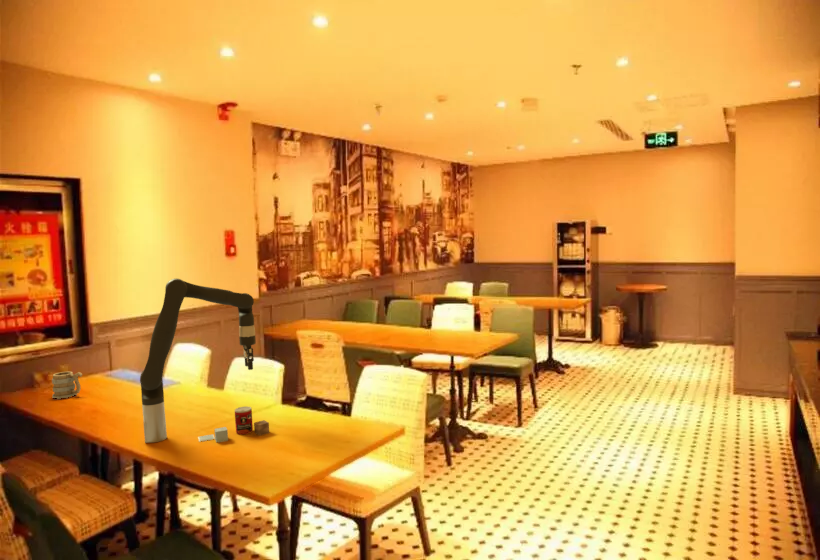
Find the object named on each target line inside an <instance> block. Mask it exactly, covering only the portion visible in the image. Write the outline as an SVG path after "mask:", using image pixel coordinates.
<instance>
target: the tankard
mask: <svg viewBox="0 0 820 560" xmlns="http://www.w3.org/2000/svg"><path fill="white" fill-rule="evenodd" d="M79 377H80V378H82V377H83V373H82V372H80V371H78V372H76V373H75V374H74V373H73V371H61V372H56V373H53V374H52V379H51V384H52V385H53V386H52V392H53V394H52V396H51V397H52V398H57V399H56V400H62V399H61V398H66V399H69V398H68V397H71V396H74V395H76V396H77V395H78V394H80V391H81V384H80V381H79ZM74 397H75V396H74ZM71 398H72V397H71Z"/></svg>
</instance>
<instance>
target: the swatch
mask: <svg viewBox="0 0 820 560" xmlns="http://www.w3.org/2000/svg"><path fill="white" fill-rule="evenodd" d="M197 439H198V442H199V443H201V441H202V442H207V440H208V441H213V439H214V440H215V434H206V435H201V436H197Z"/></svg>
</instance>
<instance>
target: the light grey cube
mask: <svg viewBox="0 0 820 560" xmlns="http://www.w3.org/2000/svg"><path fill="white" fill-rule="evenodd" d="M228 433H229V432H228V428H227V427H226V426H223V427H218V428H214V437H215V439H214V441H215V442H216V443H217V442H218V443H224V442H228V441H229V434H228Z"/></svg>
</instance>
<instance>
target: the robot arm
mask: <svg viewBox="0 0 820 560" xmlns="http://www.w3.org/2000/svg"><path fill="white" fill-rule="evenodd" d="M164 290H165V291H164V292H165V293H164V297H163V305H162V307H161V310H160V312H159V314H158V317H157V319H156V322H155V325H154V327H153V331H152V334H151V338H150V343H149V344H150V345H149V351H148V352H149V353H148V357H147V361H146V363H145V367H144V369H143V370H142V372H141V373H140V377H139V383H140V391H141V404H142V405H141V407H142V416H143V423H142V424H143V433H144V443H145V444H146V443H157V442H162V441H164V440H166V439H167V438H168V435H167V434H168V433H167V421H166V411H165V410H166V409H165V395H164V394H165V393H164V383H163V382H164V381H163V376H164V368H165V365H166V364H165V363H166V360H167V358H168V355H169V353H170V350H171V347H172V345H173V343H174V342H173V341H174V338H175V336H176V335H175V334H176V330H177V325H178V321H179V315H180V310H181V307H182V304H183V301H184V299H185V298H186V299H188V298H190V299H191V298H192V299H196V300H201V301H205V302H208V303H213V304H217V305H218V304H219V305H223V306H224V305H225V306H232V307H236V308H237V311H238V336H239V337H238V338H239V345H240V346H242V350H243V355H242V356H243V359H244V366H245V367H247V370H249V371H253V369H254V361H255V359H254V349H253V347H252V346H253V345H256V342H257V341H256V328H255V317H254V314H253V305H254V302H255V301H254V298H253V297H254V296H252V295H251V294H249V293H246V292H244V293H242V292H234V291H231V290H229V289H223V288H216V287H210V286H202V285H197V284H194V283H190V282H187V281H184V280H183V279H181V278H171V279H170V280H169V281H168V282H166V284H165V289H164Z"/></svg>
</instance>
